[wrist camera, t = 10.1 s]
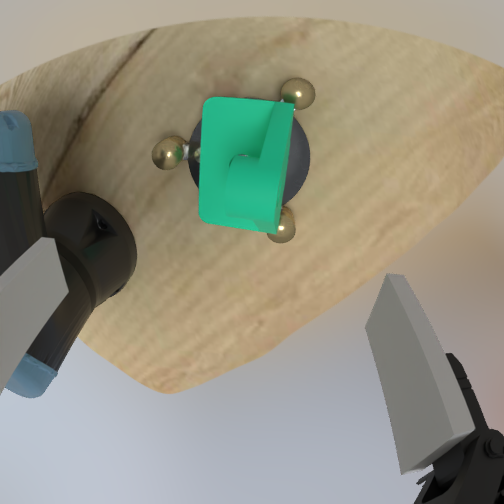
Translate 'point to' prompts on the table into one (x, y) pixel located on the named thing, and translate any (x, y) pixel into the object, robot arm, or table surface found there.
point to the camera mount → (244, 162)
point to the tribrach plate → (178, 150)
